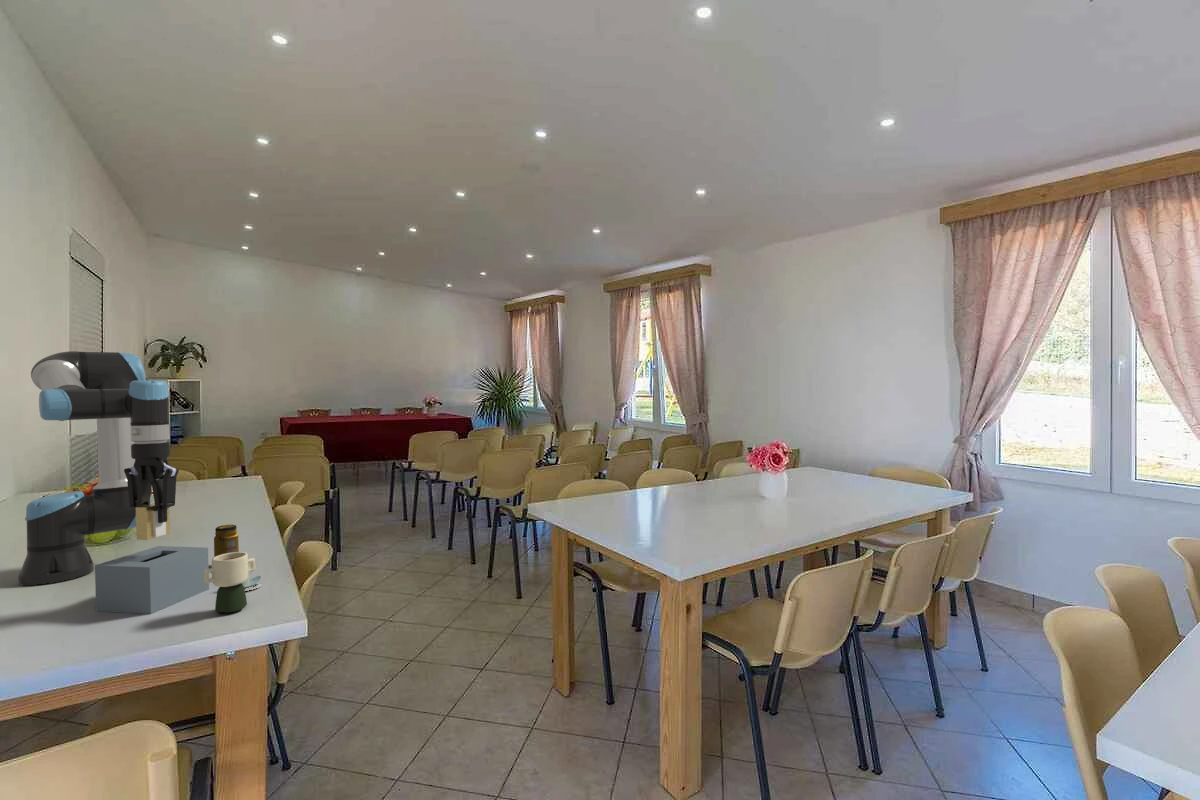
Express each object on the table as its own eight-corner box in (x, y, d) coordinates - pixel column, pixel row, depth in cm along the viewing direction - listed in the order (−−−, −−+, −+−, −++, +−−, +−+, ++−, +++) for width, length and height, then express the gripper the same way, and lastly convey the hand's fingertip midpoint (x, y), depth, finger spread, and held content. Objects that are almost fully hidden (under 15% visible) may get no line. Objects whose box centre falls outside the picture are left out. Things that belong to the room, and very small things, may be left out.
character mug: (249, 599, 136) (247, 548, 135) (263, 605, 132) (261, 552, 131) (198, 615, 126) (196, 559, 126) (211, 622, 122) (210, 564, 122)
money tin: (96, 610, 130) (94, 565, 129) (159, 586, 145) (158, 546, 145) (150, 613, 127) (149, 567, 127) (209, 588, 143) (208, 547, 143)
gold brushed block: (136, 539, 133) (135, 507, 133) (159, 533, 139) (158, 502, 139) (147, 540, 133) (146, 507, 133) (169, 533, 139) (169, 502, 139)
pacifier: (266, 588, 144) (257, 582, 148) (266, 565, 144) (257, 560, 148) (234, 596, 138) (226, 591, 142) (234, 572, 138) (225, 567, 142)
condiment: (239, 561, 167) (238, 522, 167) (242, 567, 161) (241, 527, 160) (210, 566, 163) (209, 526, 162) (212, 573, 156) (211, 531, 156)
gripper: (107, 443, 133) (110, 538, 133) (164, 443, 131) (167, 540, 131) (137, 440, 140) (140, 530, 141) (192, 440, 138) (194, 532, 139)
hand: (153, 535), depth 136 cm, fingers closed on gold brushed block, 3 cm apart
